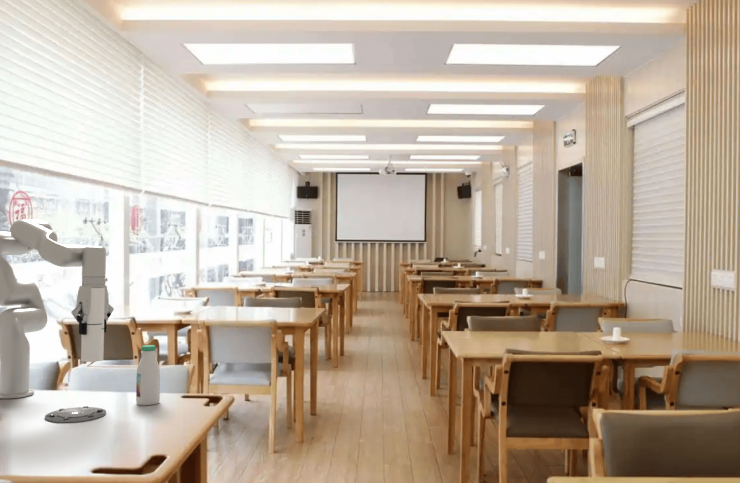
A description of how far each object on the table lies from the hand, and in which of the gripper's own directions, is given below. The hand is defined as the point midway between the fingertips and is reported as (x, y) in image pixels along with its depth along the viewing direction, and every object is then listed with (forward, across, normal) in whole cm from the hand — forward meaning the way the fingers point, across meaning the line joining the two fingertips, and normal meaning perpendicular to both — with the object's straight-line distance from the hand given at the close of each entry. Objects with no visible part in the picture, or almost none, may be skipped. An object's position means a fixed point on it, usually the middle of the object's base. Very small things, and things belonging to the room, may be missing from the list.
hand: (92, 332), depth 233 cm
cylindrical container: (+10, 0, 0) cm, 10 cm away
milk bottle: (+25, -11, +15) cm, 31 cm away
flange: (+24, +13, +9) cm, 29 cm away
